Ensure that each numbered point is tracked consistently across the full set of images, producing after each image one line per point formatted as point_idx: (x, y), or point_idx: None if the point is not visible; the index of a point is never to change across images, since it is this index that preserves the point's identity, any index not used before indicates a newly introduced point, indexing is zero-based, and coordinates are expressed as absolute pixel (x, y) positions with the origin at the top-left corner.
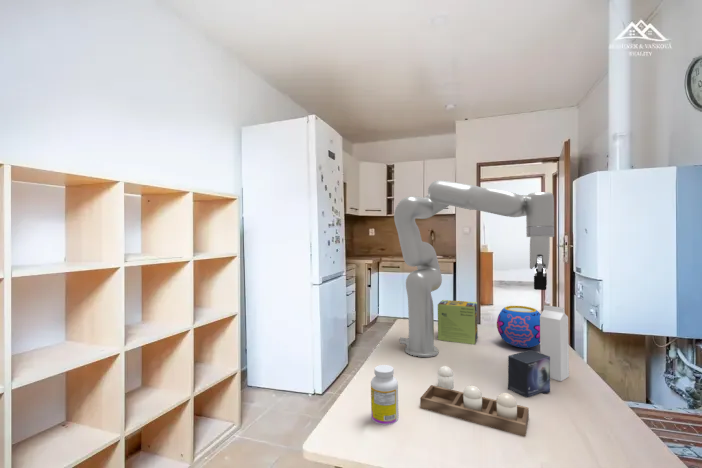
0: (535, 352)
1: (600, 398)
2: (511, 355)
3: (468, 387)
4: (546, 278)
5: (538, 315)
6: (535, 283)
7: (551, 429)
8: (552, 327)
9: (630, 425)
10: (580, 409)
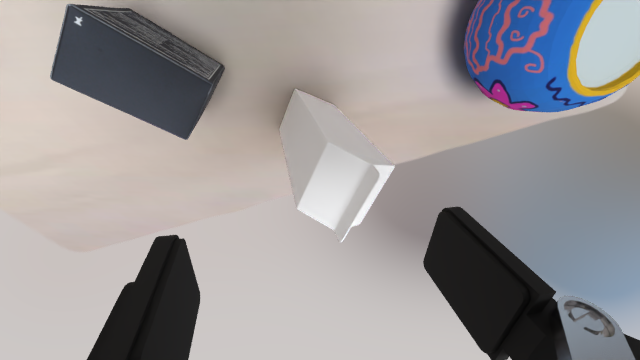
0: (189, 100)
1: (235, 188)
2: (81, 18)
3: None
4: (456, 311)
5: (554, 101)
6: (138, 290)
7: (5, 115)
8: (301, 168)
9: (152, 220)
10: (156, 161)
